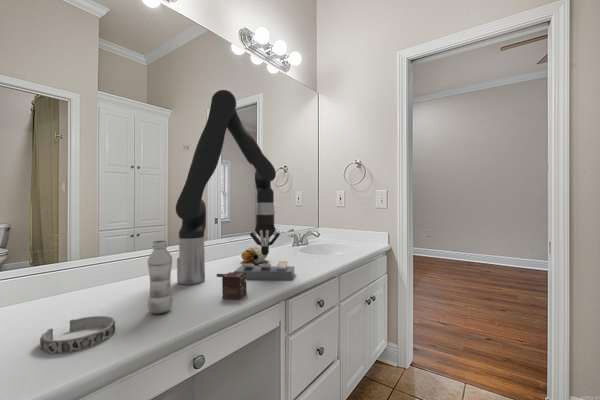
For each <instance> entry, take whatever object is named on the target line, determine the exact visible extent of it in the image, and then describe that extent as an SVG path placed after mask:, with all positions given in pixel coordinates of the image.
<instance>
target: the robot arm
mask: <svg viewBox="0 0 600 400" xmlns="http://www.w3.org/2000/svg"><path fill="white" fill-rule="evenodd" d="M236 108H237V100H236V97H235V95H234V94H233V92H231V91H230V90H228V89H225V88H223V89H220V90H217V91H216V92H214V94H213V95H212V97H211V101H210V108H209V111H208V118H207V120H206V124H205V126H204V128H203V130H202V132H201V134H200V137H199V139H198V142H197V145H196V148H195V151H194V153H193V156H192V160H191V163H190V166H189V170H188V174H187V176H186V180H185V183H184V186H183V188H182V189H181V193H180V194H179V197H178V199H177V201H176V205H175V213H176V215H177V217H178V218H179V219H181V227H180V229H179V230H178V252H179V253H178V256H179V257H177V258H176V270H177V271H176V278H177V280H176V281H177V283H176V284H181V285H186V286H188V285H197V284H201V283H204V282H205V280H206V269H205V268H206V267H205V266H206V265H205V263H206V260H205V259H206V257H205V254H206V252H205V231H206V225H207V224H206V223H207V209H206V203H205V201H204V200H203V194H204V192H205V189H206V186H207V184H208V182H209V181H210V179H211V178H212V176H213V175H214V173H215V170H216V169H217V166H218V164H219V161H220V157H221V156H222V155H221V154H222V150H223V147H224V142H225V135H226V131H228V132H230V134H231V136H232V137H233V139H234V141H235V142H236V144H237V146H238V148H239V150H240V151H241V153H242V154H243V156H244V157H245V159H246V161H247V162H248V164H250V165H252V166H253V167H254V169H255V173H254V183H255V187H256V188H255V189H256V208H255V228H254V230H253V231H252V232H250V233H249V235H250V237H251V239H253V241H254V242H255V244H256V245H258V246H260V248H261V253H262V254H263V256H267V257H268V255H269V253H270V252H269V251H270V246H273V244H274V243H275V242H276V241H277V240H278V238H279V236H281V233H280V232H278V231H277V229H276V227H275V213H276V211H275V199H274V198H275V195H274V190H273V189H272V186H271V184H272V183H271V182H273V181H274V180H275V178H276V176H277V172H276V169H275V167H274V165H273V164H272V162H271V161H270V160H269V159H268V158H267V157H266V156H265V155H264V153H263V151H262V150H261V148H260V146H259V144H258V143H257V141H256V140H255V138H254V136H253V135H252V133H250V132H249V131H248V129H247V128H246V127H245V125H244V124H243V122H242V120H241V118H240V116H239V114H238V112H237V109H236ZM272 236H274V237H273V238H272V240H270V239H271V237H272ZM259 238H260V239H259ZM267 254H268V255H267Z"/></svg>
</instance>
